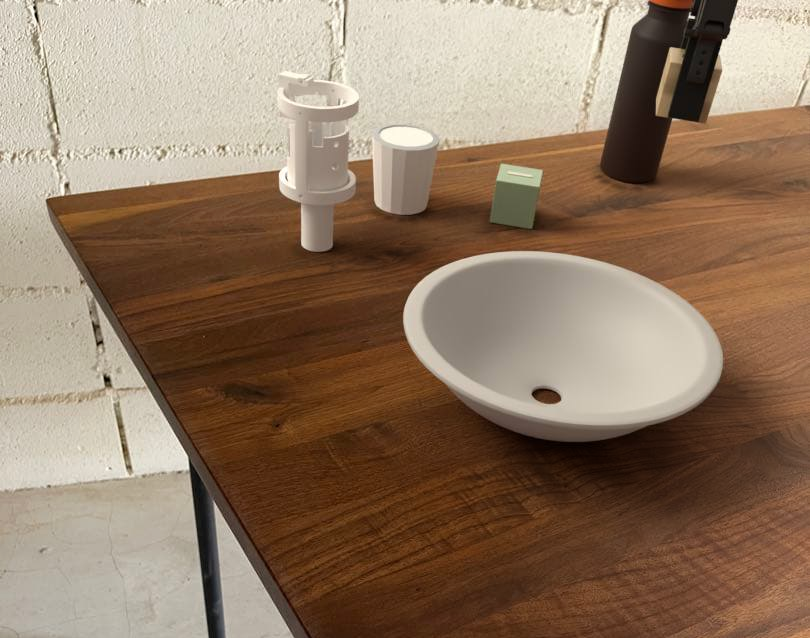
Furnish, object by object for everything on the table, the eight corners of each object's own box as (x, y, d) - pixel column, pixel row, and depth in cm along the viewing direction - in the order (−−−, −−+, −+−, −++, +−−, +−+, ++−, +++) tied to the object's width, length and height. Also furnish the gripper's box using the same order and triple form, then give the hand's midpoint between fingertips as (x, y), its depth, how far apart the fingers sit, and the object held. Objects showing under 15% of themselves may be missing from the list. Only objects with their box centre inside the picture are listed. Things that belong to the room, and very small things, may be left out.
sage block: (535, 211, 95) (543, 169, 92) (532, 229, 92) (540, 186, 89) (494, 204, 96) (501, 162, 93) (489, 222, 93) (496, 179, 89)
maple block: (704, 107, 82) (720, 53, 79) (705, 124, 79) (722, 68, 76) (655, 99, 83) (670, 45, 80) (655, 116, 80) (670, 60, 76)
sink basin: (552, 294, 83) (567, 227, 78) (758, 431, 70) (790, 360, 65) (338, 366, 72) (340, 293, 67) (536, 544, 59) (555, 469, 54)
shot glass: (433, 219, 92) (440, 151, 87) (367, 215, 92) (371, 146, 87) (431, 191, 97) (438, 125, 92) (369, 186, 97) (372, 120, 92)
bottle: (602, 181, 103) (650, -17, 88) (595, 157, 107) (639, -34, 93) (660, 186, 103) (716, -10, 89) (651, 163, 108) (703, -27, 94)
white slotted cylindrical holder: (300, 221, 89) (299, 60, 79) (364, 238, 88) (372, 76, 77) (267, 250, 85) (262, 82, 74) (334, 268, 83) (338, 100, 73)
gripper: (720, -242, 71) (642, 72, 87) (732, -226, 58) (639, 136, 75) (815, -231, 70) (719, 84, 87) (848, -213, 58) (729, 150, 74)
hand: (682, 107), depth 81 cm, fingers closed on maple block, 4 cm apart
